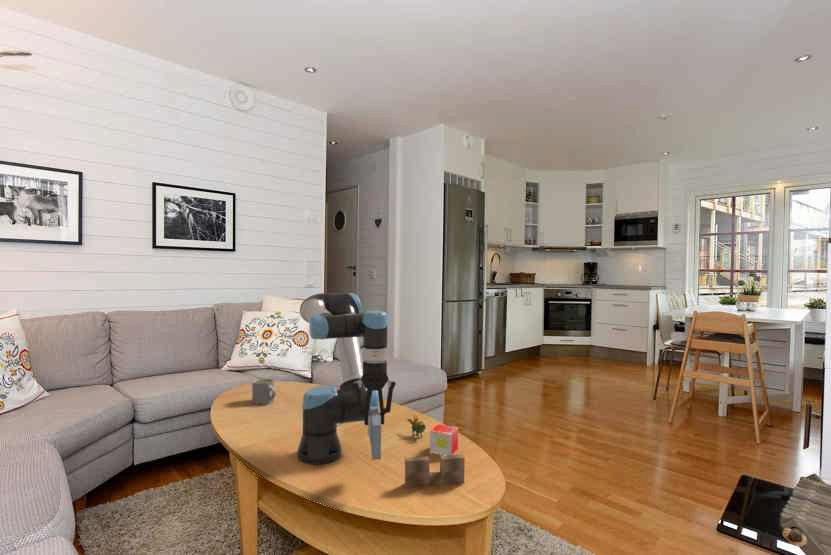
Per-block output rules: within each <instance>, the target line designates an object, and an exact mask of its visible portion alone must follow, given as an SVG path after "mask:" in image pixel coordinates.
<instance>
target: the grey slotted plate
mask: <svg viewBox="0 0 831 555" xmlns="http://www.w3.org/2000/svg"><path fill="white" fill-rule="evenodd" d="M379 413H380V410H379V405H378V406H373V407H370V414H371V437H369V439H370V440H369V441H370V446H371V447H370V448H371V450H370V451H371V460H372V461H375V460H376V461H377V460H381V459H382V425H381V421H380V416H379Z"/></svg>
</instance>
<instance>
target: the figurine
mask: <svg viewBox="0 0 831 555" xmlns="http://www.w3.org/2000/svg"><path fill="white" fill-rule="evenodd" d="M406 420H407V421H408V422H409V423H410V424H411V431H412V432H411V433H412V436H413V437H416V436H417V439H418V440H419V439H421V438H422V439H423V435H422V433H426V430H427V428H426V425H425V423H424V422H423V420H421V421H420V420H419V418H418V415H417V414H414V415H413V420H412V418H406ZM419 435H420V436H419Z"/></svg>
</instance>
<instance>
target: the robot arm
mask: <svg viewBox="0 0 831 555" xmlns="http://www.w3.org/2000/svg"><path fill="white" fill-rule="evenodd" d="M299 307H300V308H299V314H300V317H301V319H303V320H304V321H305V322H306V323H309V325H308V326H309V334H310V337H311V339H312V340H328V339H329V340H330V339H336V344H337V352H338V358H339V365H340V372H341V377H342V383H341V384H339V389H338V388H337V386H335V385H332V384H329V385H327V384H326V385H325V384H324V385H318V386H315V387H312V388H310V389H309V390H307V391H305V392H304V394H303V396H302V405H301V409H302V435H301V438H300V441H299V444H298V448H297V452H296V453H297V455H296V456H297V457H296V458H297V460H298V461H299V462H301V463H304V464H308V465H323V464H328V463H331V462H335V461H336V460H338V459H340V457H341V456H342V450H343V448H342V444H341V441H340V438H339V435H338V431H337V430H338V426H337V425H338V424H346V423H347V424H348V423H355V422H356V423H357V422H363V423H364V425H365V426H367V438H368V437H369V438H370V437H371V414H370V407H373V406H378V407H379V416H380V421H381V426H382V425H384V424H385V416H386V414H389V413H391V408H392V401H393V400H392V399H393V392H394V388H395V386H396V384H397V383H396V380H394V379H391V378H389V376H388V362H387V360H388V324H389V321H388V314H387V312H386V311H384V310H367V311H365V312H363V310H362V303H361V300H360V298H359V296H358V295H357V294H355V293H350V292H343V293H337V292H335V293H333V292H331V293H323V292H321V293H316V294H312V295H310V296H309V297H307V298H305V299H304V300H303V301H302V302H301V304H300V306H299ZM359 338H362V341H363V342H362V350H361V345H360V340H359ZM386 384H387V386H388V389H387V396H386V403H385V404H386V405H385V404H384V397H383V396H384V395H383V388H384V387H385V386H386ZM384 405H385V406H384Z"/></svg>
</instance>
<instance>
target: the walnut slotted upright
mask: <svg viewBox="0 0 831 555" xmlns="http://www.w3.org/2000/svg"><path fill="white" fill-rule="evenodd" d="M465 459H466V458H465V456H464V454H453V455H446V456H442V455H439V471H433V472H430V457H429V456H414V457H413V456H412V457H405V458H404V485H405V486H404V487H405V488H406V489H408V488H420V487H422V488H423V487H434V486H436V485H438V486H450V485H451V484H452V485H463V484H462V483H464V484H465ZM436 487H437V486H436Z"/></svg>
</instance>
